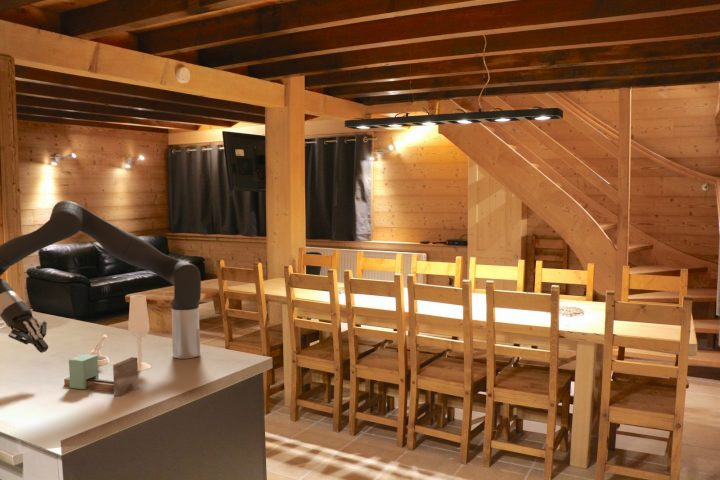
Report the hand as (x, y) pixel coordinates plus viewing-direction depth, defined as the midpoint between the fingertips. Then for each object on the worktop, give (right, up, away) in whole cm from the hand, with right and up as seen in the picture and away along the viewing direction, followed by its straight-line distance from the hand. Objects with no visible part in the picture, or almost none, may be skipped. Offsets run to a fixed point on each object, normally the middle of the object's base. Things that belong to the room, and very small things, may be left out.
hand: (44, 350), depth 177 cm
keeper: (+13, -10, -2) cm, 17 cm away
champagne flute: (+23, -9, +16) cm, 29 cm away
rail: (+18, -10, -4) cm, 21 cm away
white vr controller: (+7, -8, +21) cm, 24 cm away
